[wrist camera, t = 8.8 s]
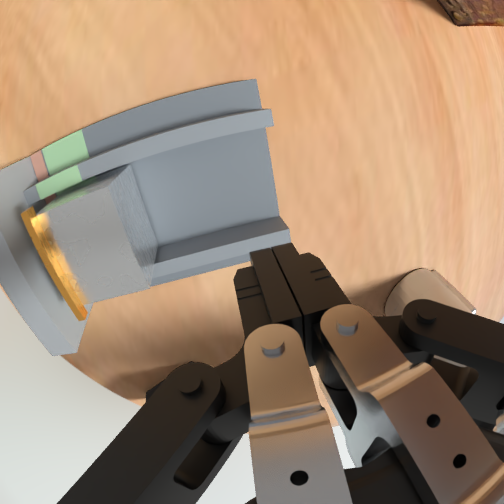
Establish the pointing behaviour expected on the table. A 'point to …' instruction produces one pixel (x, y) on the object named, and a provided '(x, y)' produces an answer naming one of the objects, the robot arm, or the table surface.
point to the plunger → (95, 239)
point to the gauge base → (151, 194)
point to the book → (475, 12)
